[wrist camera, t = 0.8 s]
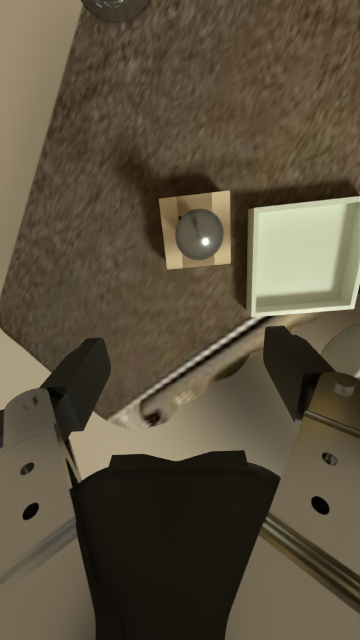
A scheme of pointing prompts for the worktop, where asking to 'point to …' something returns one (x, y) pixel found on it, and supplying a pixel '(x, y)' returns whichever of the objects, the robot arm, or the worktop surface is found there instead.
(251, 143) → the worktop surface
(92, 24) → the worktop surface
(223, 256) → the frame
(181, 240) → the pin
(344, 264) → the parts tray
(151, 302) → the worktop surface
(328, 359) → the lumpy-topped squat cylinder
